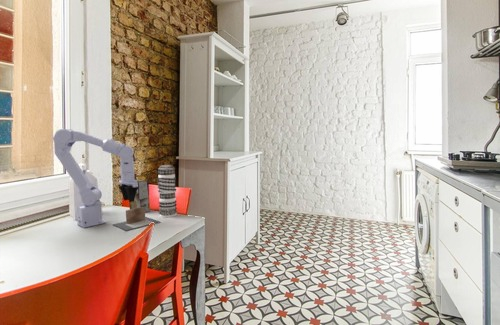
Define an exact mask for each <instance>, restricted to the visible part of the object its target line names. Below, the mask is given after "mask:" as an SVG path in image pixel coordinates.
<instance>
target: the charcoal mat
mask: <svg viewBox="0 0 500 325" xmlns="http://www.w3.org/2000/svg"><path fill="white" fill-rule="evenodd" d="M151 222H154V223H155V224H159V223H161V221H160V220H157V219H153V218H151V217H147V216H145V220H144V221H140V222H136V223H132V224H127V222H126V221H121V222H117V223H113V224H112V226H113V227H116V228H118V229H121V230H123V231H125V232H128V231H133V230H136V229H140V228H144V227H147V226H148V225H149V224H150V223H151ZM155 224H154V225H155ZM149 226H150V225H149ZM149 226H148V227H149Z"/></svg>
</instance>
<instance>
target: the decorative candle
mask: <svg viewBox="0 0 500 325" xmlns="http://www.w3.org/2000/svg"><path fill="white" fill-rule="evenodd" d="M156 181H157V188H158V190H157V192H158V194H159V200H158V204H159V205H158V207H159V208H158V211H159V212H158V213H159V217H160V218H172V217H176V216H178V213H177V212H178V210H177V209H178V207H177V198H176V192H177V189H176V187H177V185H176V184H177V178H176V174H175V167H174V166H173V165H172V164H163V165H160V166H159V168H158V176H157V179H156Z"/></svg>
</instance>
